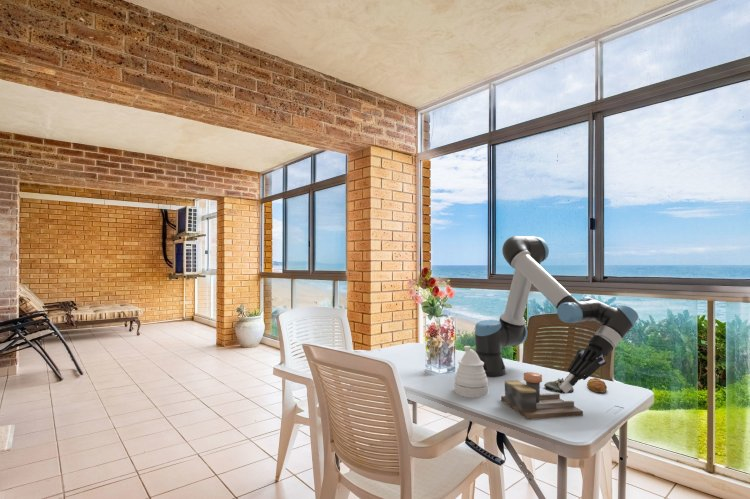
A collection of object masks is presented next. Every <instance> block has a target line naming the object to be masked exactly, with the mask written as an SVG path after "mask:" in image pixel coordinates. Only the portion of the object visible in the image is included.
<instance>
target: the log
mask: <svg viewBox="0 0 750 499" xmlns="http://www.w3.org/2000/svg"><path fill="white" fill-rule="evenodd" d="M560 378H561V377H559V378H557V380H554V381H552V380H551V381H548V382H545V383H544V387H545V389H546V390H547V391H550V392H552V393H559V394H573V393H575V392H574V386H573V387H572V388H571V389H570V390H569V391H568V392H567V393H565V392H563V391H562V390H561V388H560V387H559V386H560V385H561V384H562V383H563V382H564V381H565V379H564V377H562V378H561V379H560Z"/></svg>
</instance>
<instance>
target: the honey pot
mask: <svg viewBox="0 0 750 499" xmlns="http://www.w3.org/2000/svg"><path fill="white" fill-rule="evenodd" d="M471 347H472V346H470V345H465V346H463V349H464V351H465V352H464V354H463V356H462V358H461V359H460V360H458V362H457V363H458V367H457V369H456V370H457V372H456V373H455V376H454V393H455V394H457V395H458V396H459V395H460V396H462V397H466V398H485V397H486V396H488V395H489V379H488V376H486V374H485V370H484V368H483V365H484V362H483V361H481V360H480V358H479V356H478V355H477V353H476V352H475V350H474V349H472V348H471Z"/></svg>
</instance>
